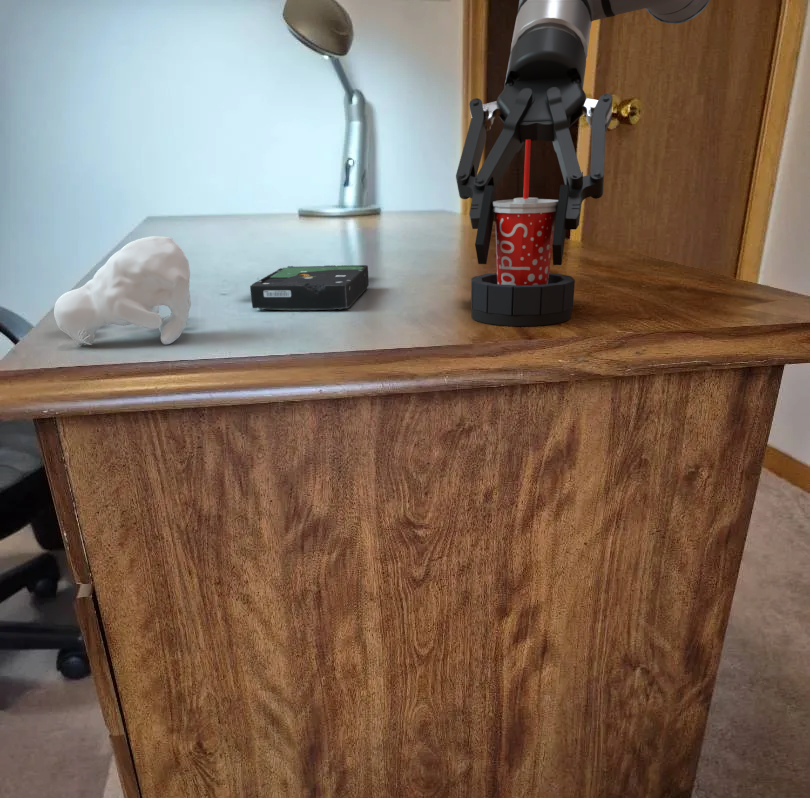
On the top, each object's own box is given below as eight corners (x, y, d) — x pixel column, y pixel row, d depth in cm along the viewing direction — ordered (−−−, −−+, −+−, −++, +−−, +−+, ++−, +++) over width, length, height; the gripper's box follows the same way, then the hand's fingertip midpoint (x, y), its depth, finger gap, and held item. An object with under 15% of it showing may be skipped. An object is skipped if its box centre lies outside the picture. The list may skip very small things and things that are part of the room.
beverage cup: (477, 301, 77) (479, 140, 71) (525, 294, 80) (532, 139, 73) (517, 310, 72) (524, 139, 66) (567, 302, 75) (578, 138, 69)
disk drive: (350, 313, 81) (369, 287, 94) (348, 284, 80) (368, 263, 93) (251, 313, 82) (284, 288, 95) (248, 285, 81) (282, 263, 94)
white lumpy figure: (183, 235, 65) (30, 258, 62) (207, 339, 69) (64, 364, 66) (179, 229, 70) (38, 250, 68) (202, 325, 74) (69, 348, 72)
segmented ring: (592, 318, 75) (595, 280, 73) (508, 330, 71) (509, 290, 69) (531, 304, 82) (533, 268, 81) (452, 314, 78) (452, 277, 77)
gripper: (645, 87, 79) (625, 283, 72) (457, 94, 83) (422, 279, 76) (652, 16, 72) (631, 226, 65) (447, 29, 76) (407, 225, 70)
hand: (518, 254), depth 71 cm, fingers closed on beverage cup, 6 cm apart
